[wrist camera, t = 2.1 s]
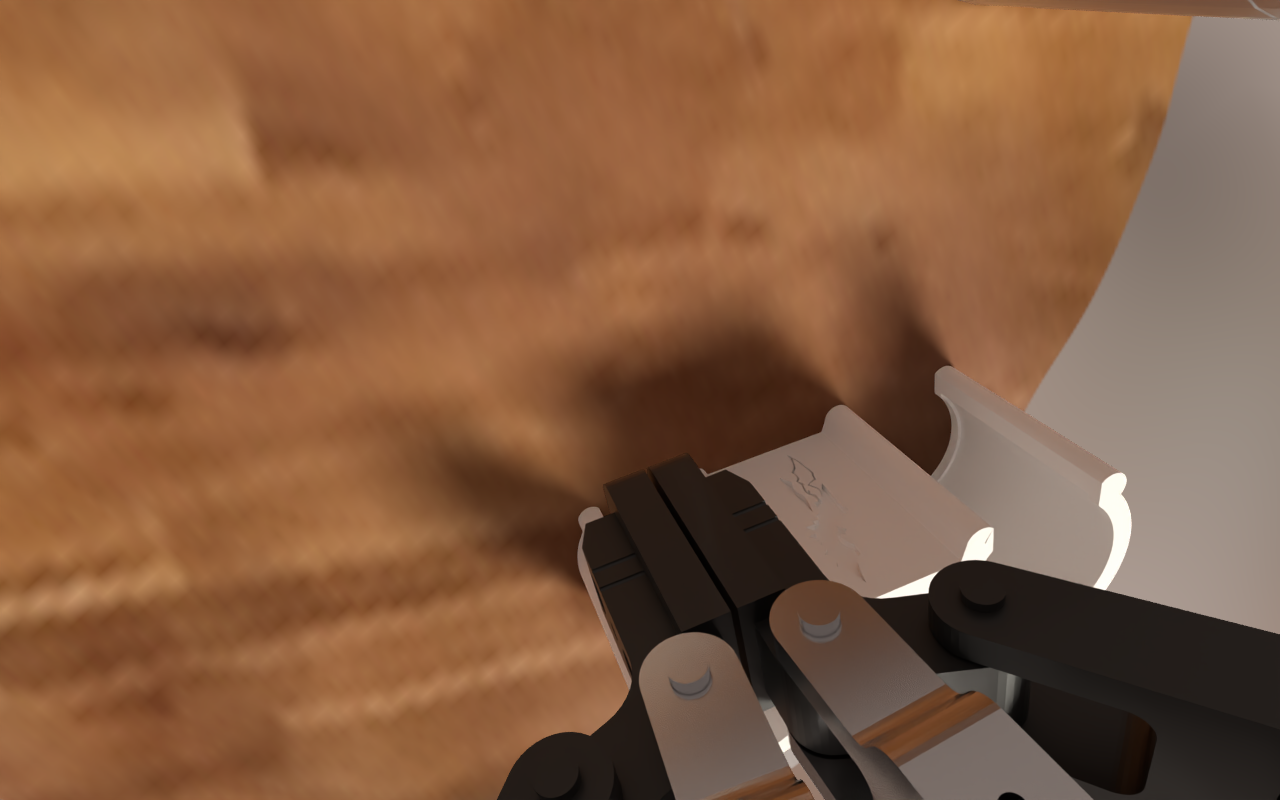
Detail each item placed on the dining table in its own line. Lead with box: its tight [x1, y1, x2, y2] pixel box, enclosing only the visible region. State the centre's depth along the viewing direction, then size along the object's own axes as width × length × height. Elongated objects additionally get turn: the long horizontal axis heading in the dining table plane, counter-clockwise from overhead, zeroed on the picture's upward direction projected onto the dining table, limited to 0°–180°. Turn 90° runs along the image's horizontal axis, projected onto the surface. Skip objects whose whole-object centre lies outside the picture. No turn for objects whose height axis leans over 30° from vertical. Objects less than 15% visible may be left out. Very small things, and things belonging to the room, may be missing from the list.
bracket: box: [577, 366, 1131, 753], centre depth 41 cm, size 25×10×12 cm, turn 101°
